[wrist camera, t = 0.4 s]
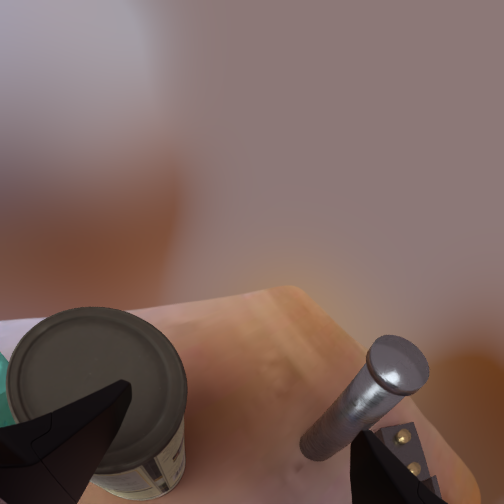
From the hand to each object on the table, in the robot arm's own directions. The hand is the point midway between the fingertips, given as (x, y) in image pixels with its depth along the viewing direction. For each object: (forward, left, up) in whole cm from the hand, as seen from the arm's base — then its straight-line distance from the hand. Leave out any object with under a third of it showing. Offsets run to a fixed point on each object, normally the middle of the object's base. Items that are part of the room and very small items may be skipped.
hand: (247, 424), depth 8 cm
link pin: (+5, -10, -16) cm, 20 cm away
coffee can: (+2, +8, -17) cm, 18 cm away
